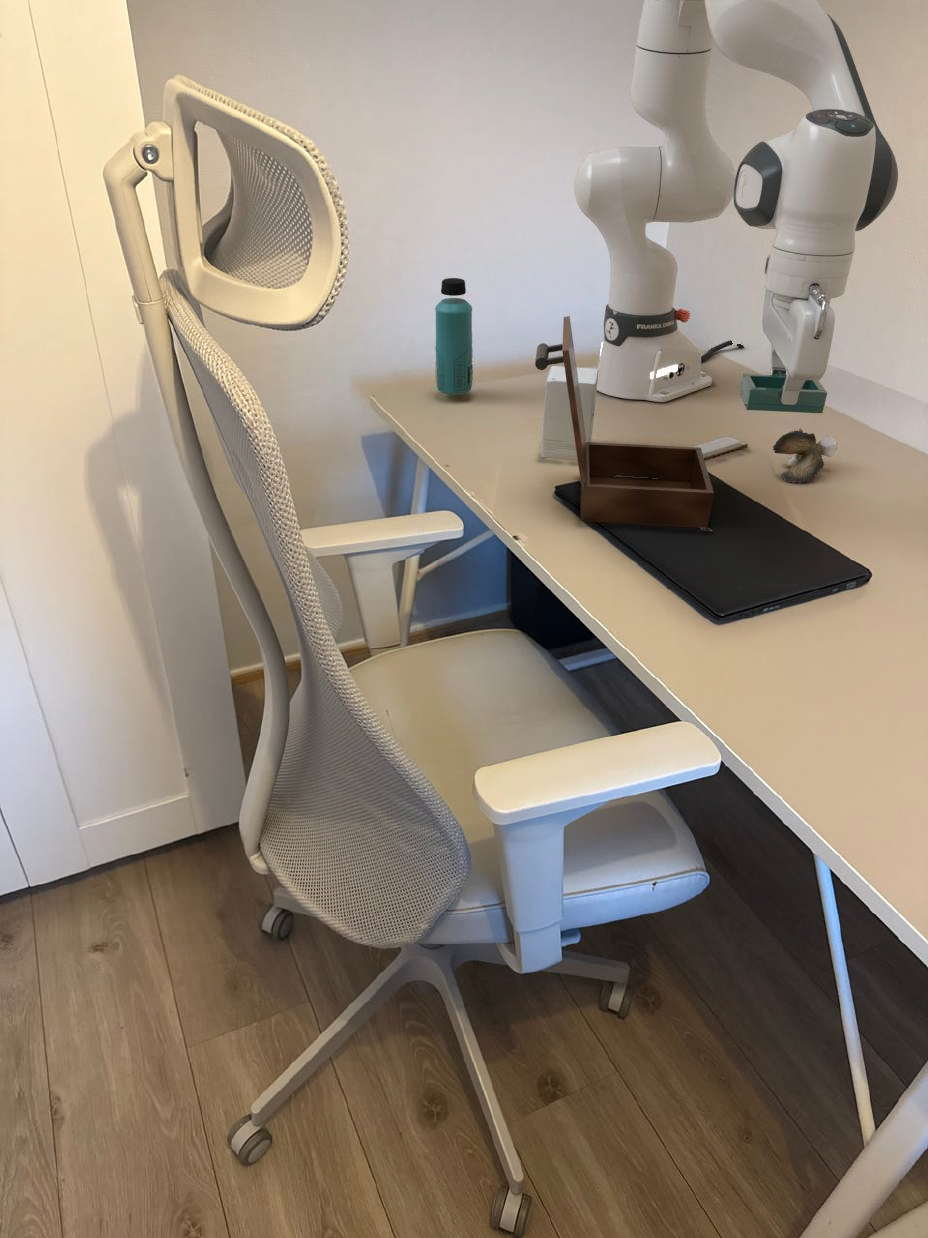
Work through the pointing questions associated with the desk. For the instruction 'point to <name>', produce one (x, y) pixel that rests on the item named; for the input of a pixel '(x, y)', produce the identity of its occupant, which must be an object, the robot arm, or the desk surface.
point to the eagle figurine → (804, 454)
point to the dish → (767, 390)
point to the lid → (572, 386)
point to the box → (646, 485)
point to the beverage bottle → (454, 340)
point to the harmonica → (720, 447)
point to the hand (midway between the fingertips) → (781, 391)
